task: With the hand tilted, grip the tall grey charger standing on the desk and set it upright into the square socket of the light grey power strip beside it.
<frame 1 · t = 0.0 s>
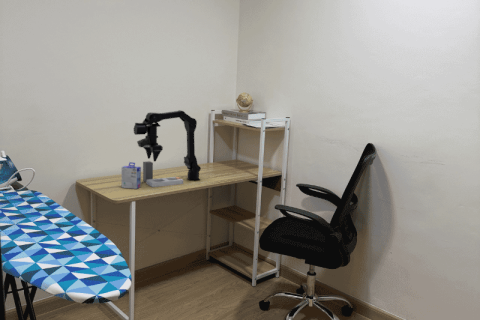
hand: (151, 160, 247), 15 cm above the table, tool pointing down, fingers open, 9 cm apart
ink cartridge box: (131, 187, 240), on the table
charger: (147, 181, 256), on the table
power strip: (164, 183, 252), on the table
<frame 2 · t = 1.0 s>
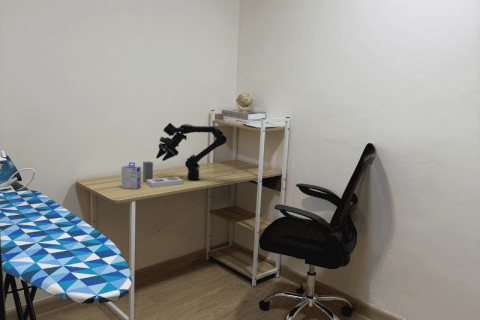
hand: (159, 159, 257), 13 cm above the table, tool tilted 45°, fingers open, 9 cm apart
nothing on the table moved.
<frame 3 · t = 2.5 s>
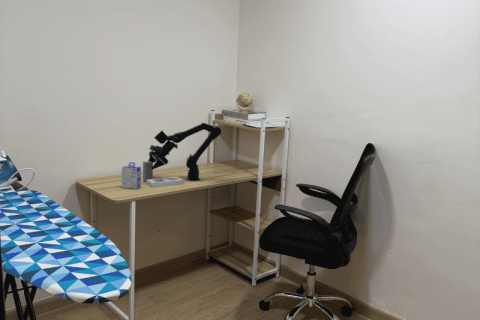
hand: (149, 167, 255), 9 cm above the table, tool tilted 45°, fingers open, 9 cm apart
nothing on the table moved.
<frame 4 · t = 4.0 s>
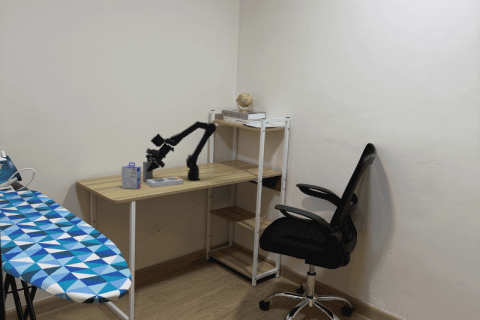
hand: (145, 170, 254), 7 cm above the table, tool tilted 45°, fingers closed on charger, 4 cm apart
charger: (147, 181, 256), on the table, touching gripper
everything else where it was.
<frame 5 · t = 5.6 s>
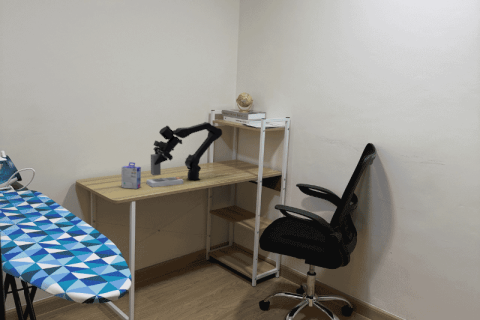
hand: (153, 163, 249), 12 cm above the table, tool tilted 45°, fingers closed on charger, 4 cm apart
charger: (155, 174, 251), point 6 cm above the table, touching gripper
everything else where it was.
when the fingers open (7 cm above the table, at t = 7.4 s): charger stays where it is, resting on power strip.
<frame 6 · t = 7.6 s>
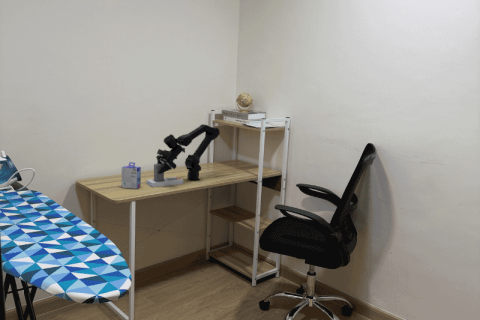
hand: (156, 172, 247), 8 cm above the table, tool tilted 45°, fingers open, 7 cm apart
charger: (158, 184, 250), resting on power strip
everything else where it was.
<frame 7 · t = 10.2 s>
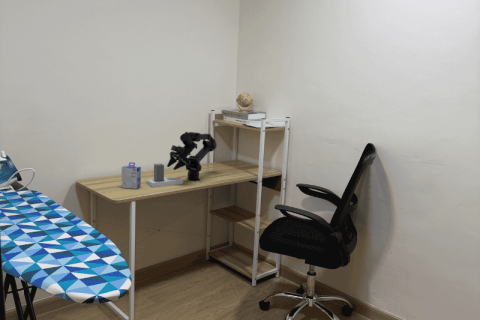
hand: (170, 168, 252), 9 cm above the table, tool tilted 45°, fingers open, 9 cm apart
nothing on the table moved.
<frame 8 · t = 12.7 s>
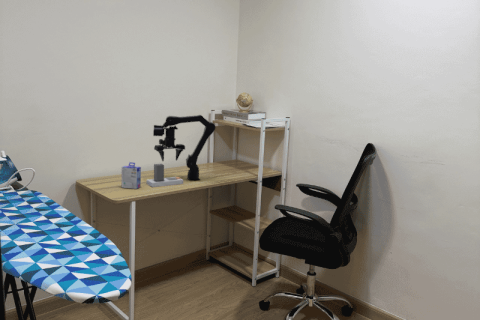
hand: (169, 160, 261), 12 cm above the table, tool pointing down, fingers open, 9 cm apart
nothing on the table moved.
at the end: charger 0.0 cm from the target spot on the power strip, point 0.2 cm above the power strip's base; charger tilted 0°; the gripper is holding nothing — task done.
